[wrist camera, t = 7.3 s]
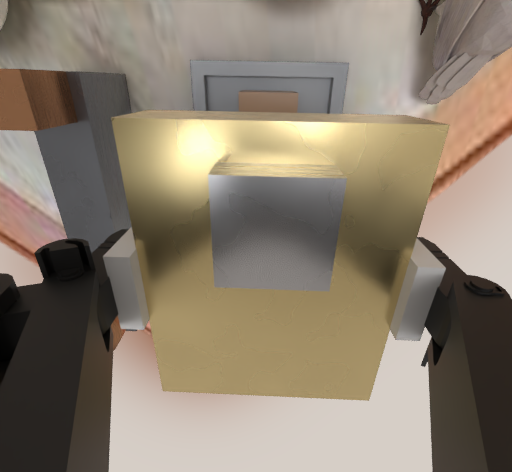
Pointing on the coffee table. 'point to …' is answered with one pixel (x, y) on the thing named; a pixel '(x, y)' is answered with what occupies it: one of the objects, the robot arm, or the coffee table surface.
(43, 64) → the coffee table surface
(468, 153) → the coffee table surface
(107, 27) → the coffee table surface
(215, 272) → the lever cap
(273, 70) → the tray
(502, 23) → the bird
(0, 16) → the lidded jar
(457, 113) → the coffee table surface
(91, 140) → the plane
